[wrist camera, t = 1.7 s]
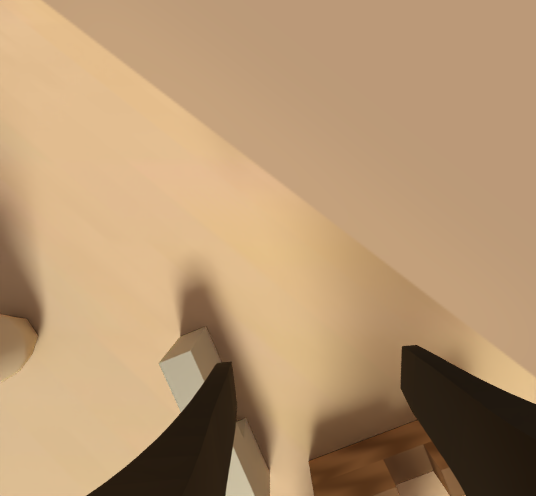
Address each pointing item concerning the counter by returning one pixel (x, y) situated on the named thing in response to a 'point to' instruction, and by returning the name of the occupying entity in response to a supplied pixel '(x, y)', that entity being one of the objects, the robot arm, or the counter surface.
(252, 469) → the grey rectangular bar
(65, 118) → the counter surface
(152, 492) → the robot arm
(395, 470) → the brown flat bar
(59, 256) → the counter surface
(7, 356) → the salt shaker
